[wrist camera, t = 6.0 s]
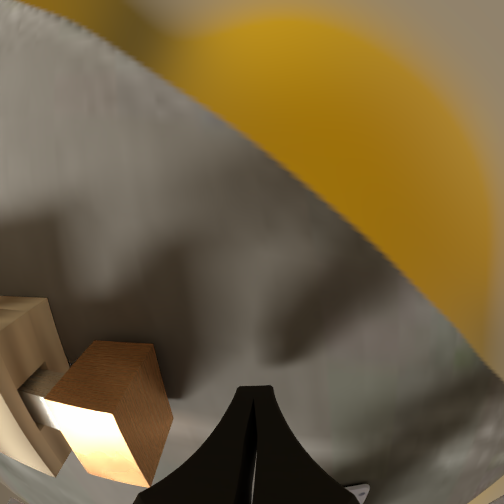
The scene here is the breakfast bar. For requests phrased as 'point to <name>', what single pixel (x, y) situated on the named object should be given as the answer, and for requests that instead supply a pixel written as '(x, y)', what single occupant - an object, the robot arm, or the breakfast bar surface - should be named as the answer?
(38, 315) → the block
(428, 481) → the breakfast bar surface
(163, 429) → the shaft
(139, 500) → the robot arm
